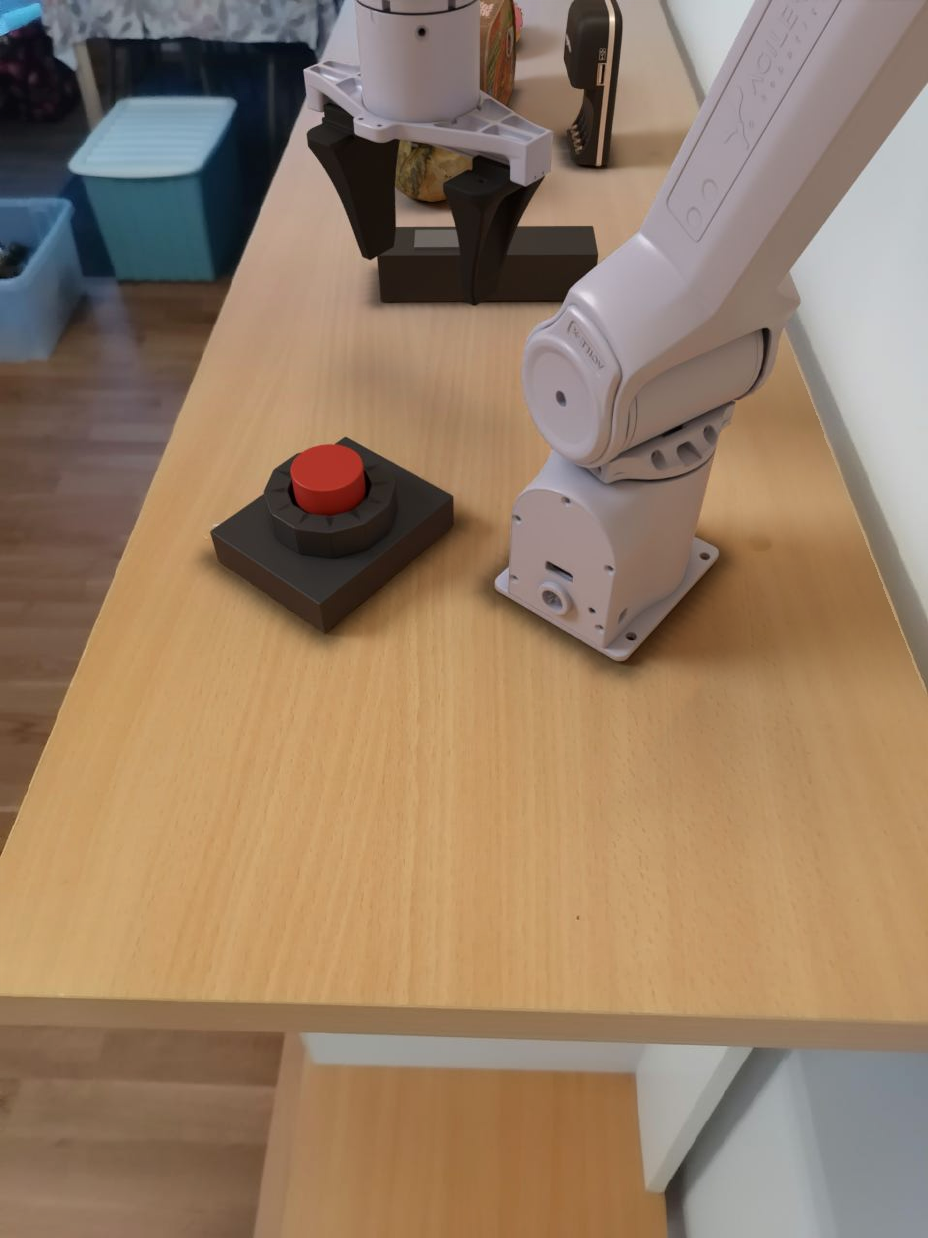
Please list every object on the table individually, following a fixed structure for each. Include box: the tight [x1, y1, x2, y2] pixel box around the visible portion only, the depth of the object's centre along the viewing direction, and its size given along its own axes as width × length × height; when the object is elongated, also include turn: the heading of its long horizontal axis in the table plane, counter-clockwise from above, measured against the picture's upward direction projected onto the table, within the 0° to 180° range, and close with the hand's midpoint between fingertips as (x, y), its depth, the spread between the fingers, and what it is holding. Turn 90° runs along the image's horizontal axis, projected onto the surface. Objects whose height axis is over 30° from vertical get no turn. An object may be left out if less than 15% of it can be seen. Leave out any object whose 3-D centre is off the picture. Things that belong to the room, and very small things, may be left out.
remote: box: [376, 225, 599, 302], centre depth 67 cm, size 15×4×4 cm, turn 90°
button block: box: [209, 436, 455, 634], centre depth 50 cm, size 10×8×4 cm
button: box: [290, 443, 366, 516], centre depth 48 cm, size 4×4×2 cm
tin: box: [480, 0, 517, 107], centre depth 85 cm, size 15×3×8 cm, turn 168°
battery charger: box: [563, 0, 624, 167], centre depth 78 cm, size 7×4×11 cm, turn 2°
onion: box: [395, 140, 472, 203], centre depth 75 cm, size 8×8×8 cm
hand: (427, 273), depth 53 cm, fingers open, 7 cm apart
